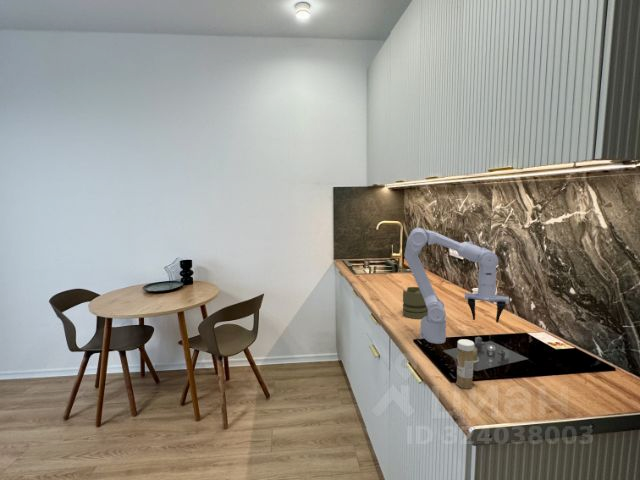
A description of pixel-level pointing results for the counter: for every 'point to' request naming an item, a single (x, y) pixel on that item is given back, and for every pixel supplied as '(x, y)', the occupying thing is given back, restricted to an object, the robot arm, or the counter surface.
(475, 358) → the cap
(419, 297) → the piston
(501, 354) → the base
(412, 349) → the counter surface
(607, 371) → the counter surface
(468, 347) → the sprinkles bottle
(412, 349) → the counter surface
